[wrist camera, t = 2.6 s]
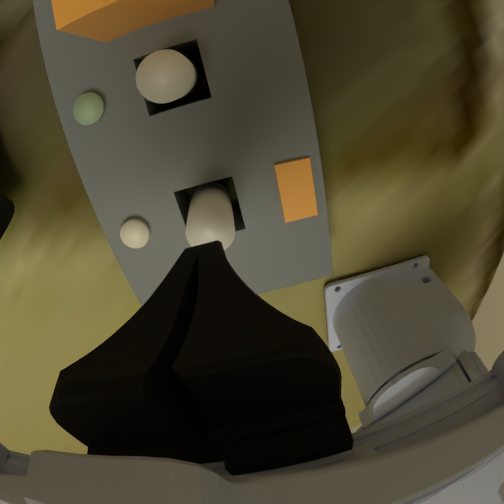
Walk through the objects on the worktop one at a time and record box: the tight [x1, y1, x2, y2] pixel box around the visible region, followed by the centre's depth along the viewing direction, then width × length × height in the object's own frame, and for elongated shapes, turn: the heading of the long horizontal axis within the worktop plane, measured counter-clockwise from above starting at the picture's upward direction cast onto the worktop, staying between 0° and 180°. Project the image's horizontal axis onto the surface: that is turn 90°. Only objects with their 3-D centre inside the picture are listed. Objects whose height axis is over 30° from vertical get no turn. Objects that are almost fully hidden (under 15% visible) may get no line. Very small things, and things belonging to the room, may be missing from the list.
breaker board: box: [33, 0, 333, 306], centre depth 14 cm, size 12×22×3 cm, turn 12°
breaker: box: [136, 49, 198, 103], centre depth 11 cm, size 2×2×4 cm
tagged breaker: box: [185, 182, 235, 250], centre depth 15 cm, size 2×2×4 cm
